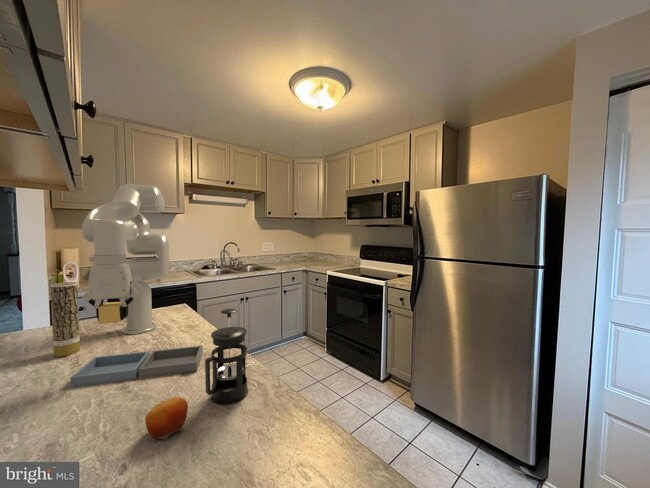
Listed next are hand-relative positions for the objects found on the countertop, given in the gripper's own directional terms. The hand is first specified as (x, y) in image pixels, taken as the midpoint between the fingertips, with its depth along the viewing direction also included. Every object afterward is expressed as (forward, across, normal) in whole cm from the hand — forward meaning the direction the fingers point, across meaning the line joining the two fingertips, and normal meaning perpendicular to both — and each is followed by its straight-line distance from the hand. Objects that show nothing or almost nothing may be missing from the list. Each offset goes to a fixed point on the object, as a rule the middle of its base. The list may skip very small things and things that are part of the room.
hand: (112, 318), depth 84 cm
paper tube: (+17, -22, +20) cm, 34 cm away
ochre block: (0, 0, 0) cm, 0 cm away
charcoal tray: (+17, +16, 0) cm, 23 cm away
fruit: (+17, +22, -32) cm, 43 cm away
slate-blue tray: (+17, 0, 0) cm, 17 cm away
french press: (+17, +34, -22) cm, 44 cm away
